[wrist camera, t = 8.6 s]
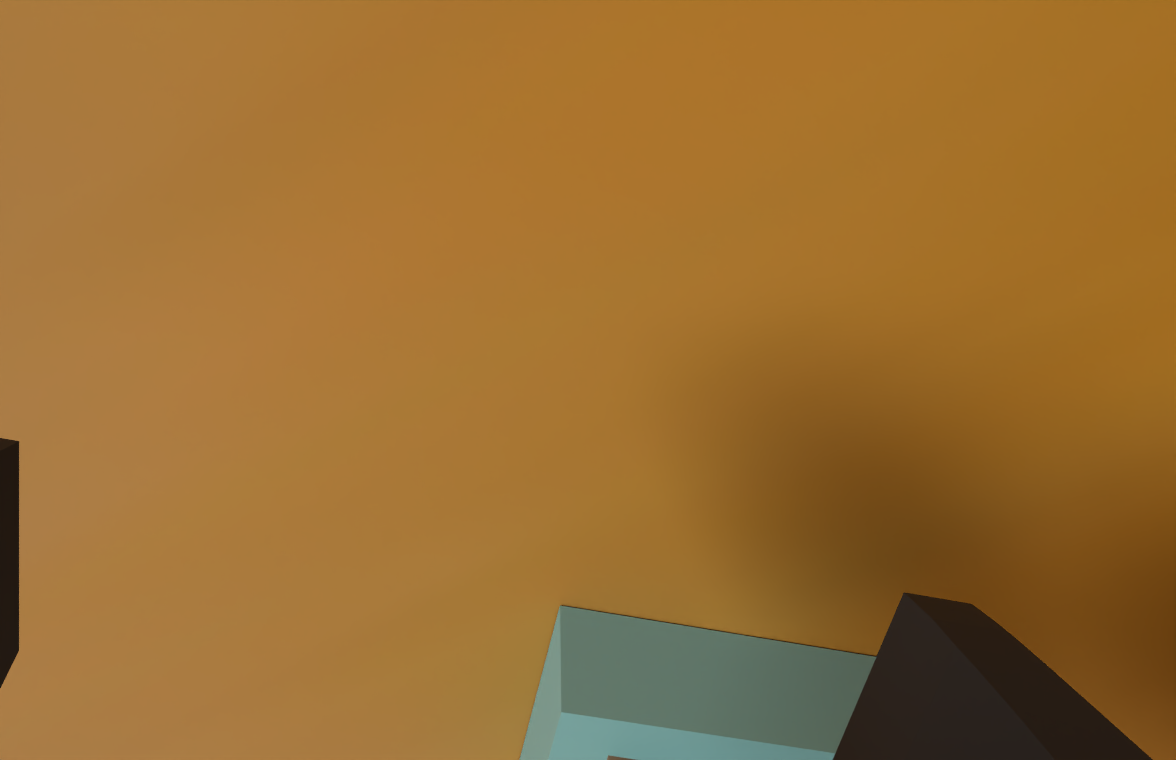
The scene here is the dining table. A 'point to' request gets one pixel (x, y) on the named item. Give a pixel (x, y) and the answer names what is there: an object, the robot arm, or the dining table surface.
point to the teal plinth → (687, 693)
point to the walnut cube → (618, 758)
